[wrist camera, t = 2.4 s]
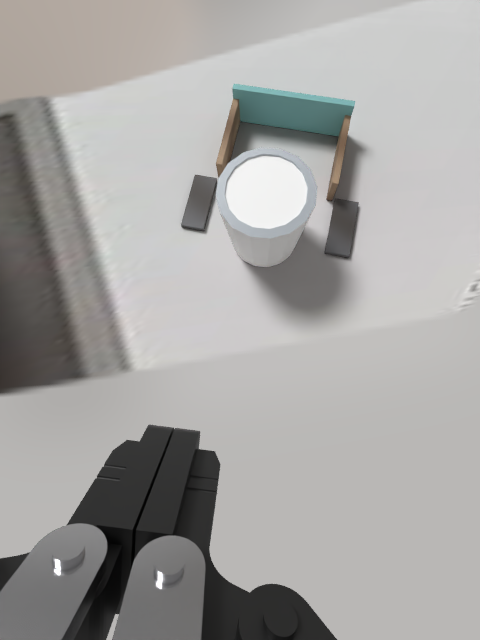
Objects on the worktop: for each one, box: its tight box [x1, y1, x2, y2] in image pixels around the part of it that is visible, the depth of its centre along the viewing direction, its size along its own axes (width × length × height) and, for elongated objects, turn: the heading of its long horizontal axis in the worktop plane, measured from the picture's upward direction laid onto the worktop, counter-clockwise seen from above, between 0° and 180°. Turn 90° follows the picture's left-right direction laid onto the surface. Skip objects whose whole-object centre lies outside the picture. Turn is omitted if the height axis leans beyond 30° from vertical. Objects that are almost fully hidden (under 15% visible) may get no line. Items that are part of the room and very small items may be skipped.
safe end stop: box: [233, 84, 355, 136], centre depth 31 cm, size 1×10×4 cm, turn 77°
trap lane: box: [181, 99, 359, 258], centre depth 30 cm, size 12×15×2 cm
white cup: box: [216, 147, 317, 267], centre depth 27 cm, size 7×7×7 cm
